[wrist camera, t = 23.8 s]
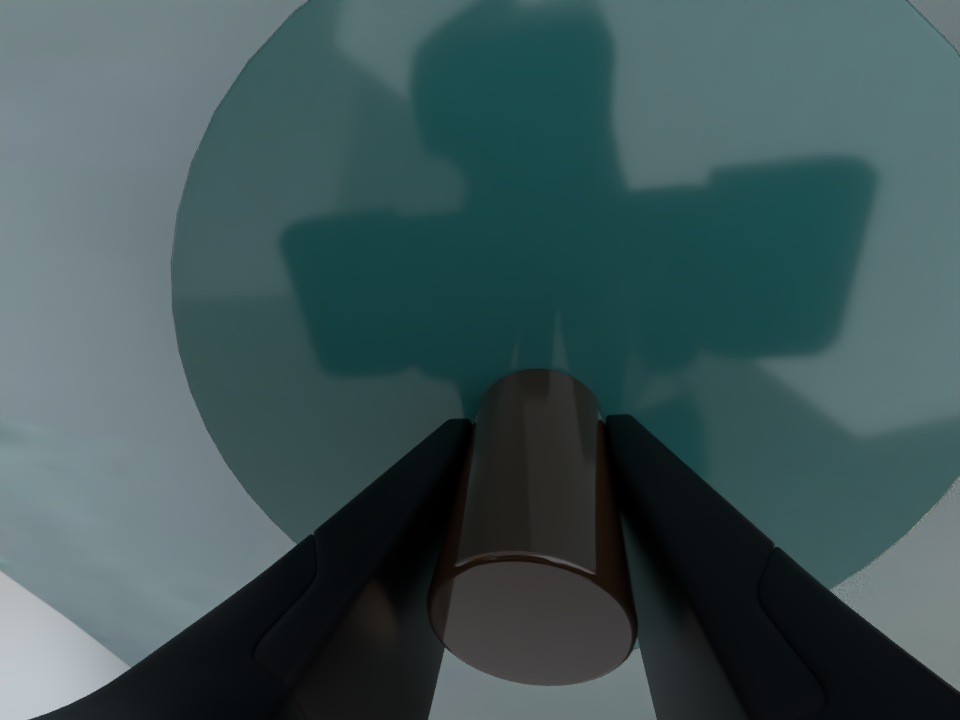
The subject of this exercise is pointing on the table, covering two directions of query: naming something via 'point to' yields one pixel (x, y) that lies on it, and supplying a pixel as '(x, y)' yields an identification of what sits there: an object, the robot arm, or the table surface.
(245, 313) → the pot lid
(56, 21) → the table surface
